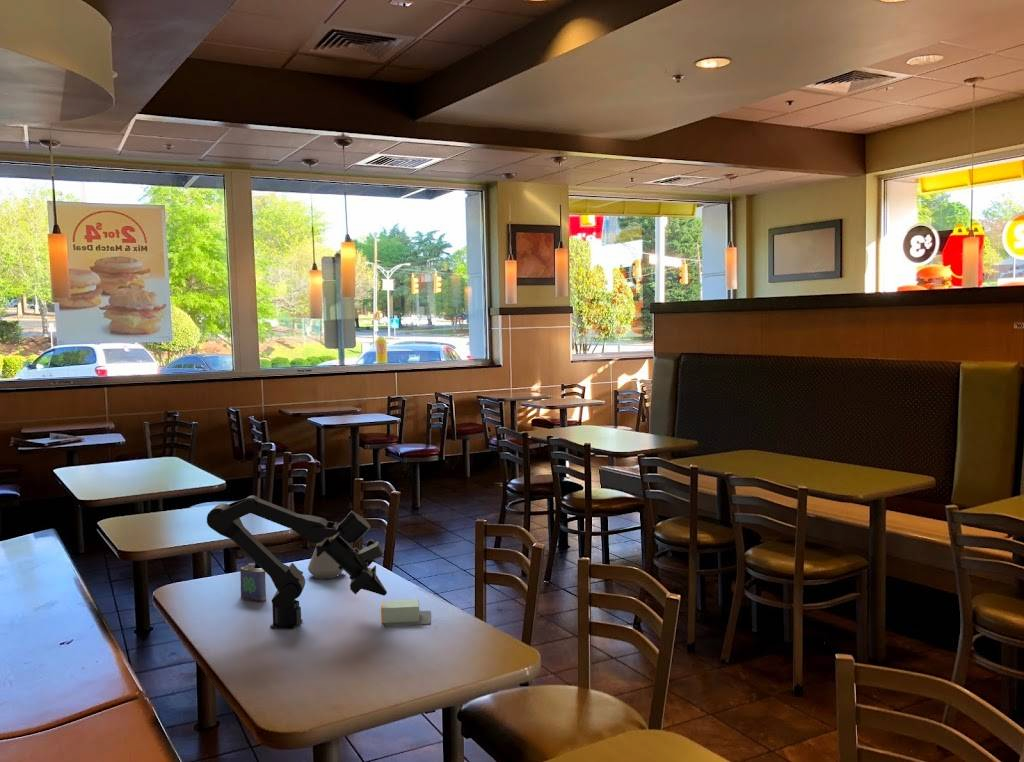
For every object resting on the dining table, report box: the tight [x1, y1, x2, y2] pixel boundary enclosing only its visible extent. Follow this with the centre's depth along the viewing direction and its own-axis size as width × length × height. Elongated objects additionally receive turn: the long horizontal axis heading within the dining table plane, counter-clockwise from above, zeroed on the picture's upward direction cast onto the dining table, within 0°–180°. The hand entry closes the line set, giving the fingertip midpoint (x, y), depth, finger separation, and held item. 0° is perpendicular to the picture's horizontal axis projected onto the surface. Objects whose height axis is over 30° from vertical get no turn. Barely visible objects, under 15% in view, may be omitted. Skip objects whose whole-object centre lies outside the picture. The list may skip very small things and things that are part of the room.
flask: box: [239, 562, 267, 603], centre depth 250 cm, size 9×3×11 cm, turn 61°
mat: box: [384, 610, 431, 627], centre depth 232 cm, size 12×10×1 cm
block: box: [380, 598, 420, 624], centre depth 232 cm, size 4×6×10 cm
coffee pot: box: [307, 534, 349, 580], centre depth 268 cm, size 21×12×15 cm, turn 34°
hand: (385, 594), depth 231 cm, fingers closed
